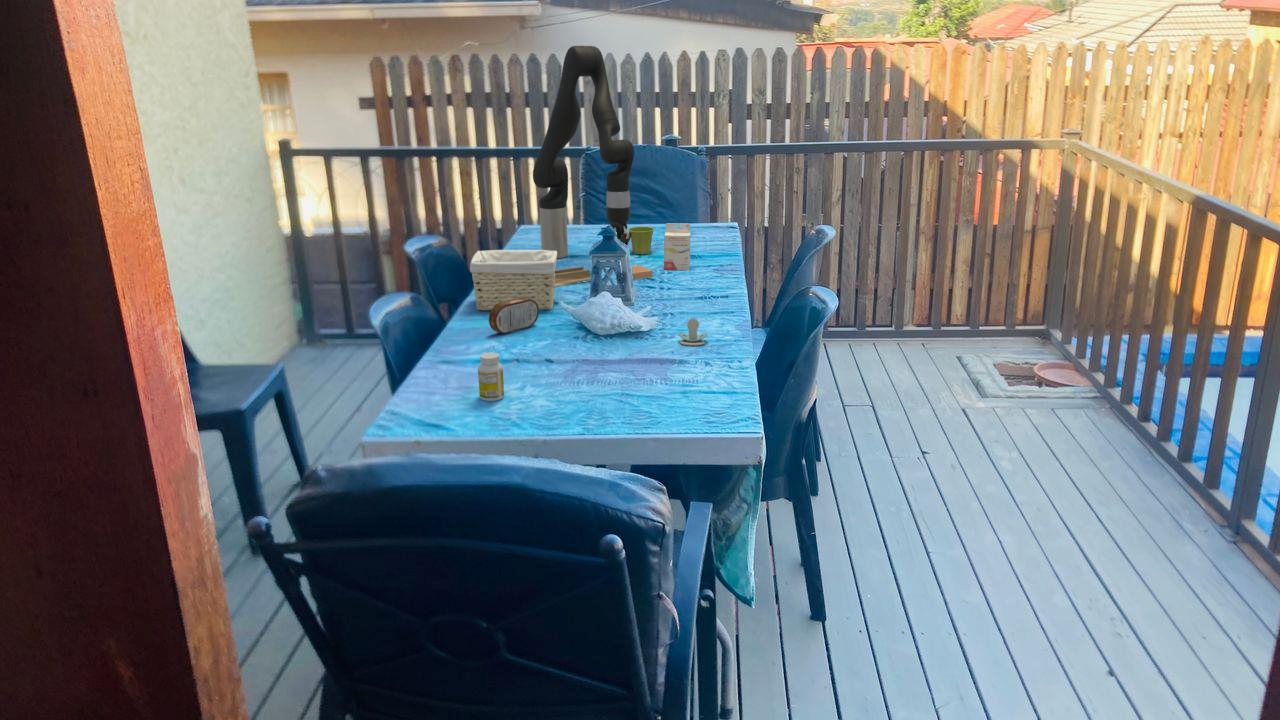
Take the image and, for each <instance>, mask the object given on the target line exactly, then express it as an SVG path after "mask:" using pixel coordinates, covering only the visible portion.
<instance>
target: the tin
mask: <svg viewBox="0 0 1280 720" xmlns="http://www.w3.org/2000/svg"><path fill="white" fill-rule="evenodd" d="M539 311H540V310H539V308H538V304H537V303H536V302H535V301H534V300H532V299H530V298H528V297H520V298H516V299H511V300H507V301H502V302H499V303H497V304H496V305H495V306H494V307H493V308H492V310H490V312H489V315H488V324H489V326H490V329H491V330H493V331H494V332H496V333H499V334H503V335H507V334H510V333H514V332H518V331H522V330H526V329H530V328H531V327H533V325H535V323H536V322H537V320H538V319H539Z"/></svg>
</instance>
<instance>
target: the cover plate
mask: <svg viewBox="0 0 1280 720" xmlns="http://www.w3.org/2000/svg"><path fill="white" fill-rule="evenodd" d="M631 266H632V275H633V279H634V280H640V279H641V280H642V279H647V278H653V277H654V276H653V275H654V274H653V270H652V269H649V268H646V267H645V266H641V265H639V264H637V265H631ZM634 280H633V281H634Z"/></svg>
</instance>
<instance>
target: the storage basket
mask: <svg viewBox="0 0 1280 720" xmlns="http://www.w3.org/2000/svg"><path fill="white" fill-rule="evenodd" d="M557 259H558V258H557V251H549V250H541V249H491V250H489V249H488V250H477V251H476V252H475V254H474V255H473V256H472V258H471V261H470V265H469V266H470V267H469V271H470V273H471V274H472V275H471V276H472V281H473V290H474V298H475V304H476V310H478V311H491V310H492V308H493V307H494V306H495V305H496V304H497V303H499V302H502V301H507V300H511V299H516V298H520V297H528V298H530V299H532V300H534V301H535V302H536V303H537V304H538V308H539V311H542V310H544V311H545V310H552V309H553V307H554V306H553V305H554V302H555V287H554V284H555V280H554V279H555V270H556V267H557V262H558V260H557Z"/></svg>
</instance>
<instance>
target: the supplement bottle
mask: <svg viewBox="0 0 1280 720" xmlns="http://www.w3.org/2000/svg"><path fill="white" fill-rule="evenodd" d="M479 358H480V364H479V365H478V366H477V375H478V377H477V378H478V391H479V399H481V400H482V401H485V402H496V401H500V400H502V399H503V398H504V397H505V388H504V387H505V386H504V385H505V383H504V367H503V365H502V364H501V363H500V354H498V353H497V352H486V353H482V354H481V355H480V356H479Z"/></svg>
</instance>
